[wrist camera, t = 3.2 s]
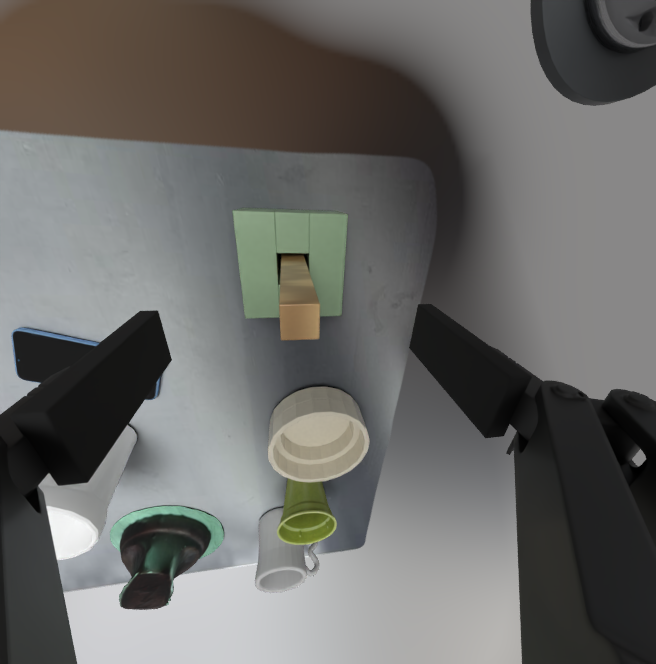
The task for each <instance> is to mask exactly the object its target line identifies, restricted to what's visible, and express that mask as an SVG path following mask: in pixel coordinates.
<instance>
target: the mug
mask: <svg viewBox="0 0 656 664" xmlns="http://www.w3.org/2000/svg"><path fill="white" fill-rule="evenodd" d="M283 508H284V507H283ZM283 508H277V509H273V510H271V511H269V512H267V513H266V514H265V515H264V516H263V517H262V518H261V519H260V522H259V556H258V565H257V571H256V578H255V586H256V587H257V589H259V590H260V591H263V592H269V593H275V592H276V593H277V592H284V591H287V590H291V589H293V588H296V587H298V586H299V585H301V584H302V583H303V582H304V581H305V579H306V577H307V575H308V576H314V575H315V574H316V573H317V571H318V569H319V561H318V558H317V557H316V555H315V554H314V553H313V550H314V549H315V548H316V547H317V542H315V543H313V544H312V545H311V546H310V547H309V550H308V555H309V557H310V558H311V559H312V560H313V562H314V564H315V566H314V568H313V569H312V570H309V569H308V567H307V566H306V565H305V557H304V545H294V544H289V543H286V542H284V541H282V540H281V539H280V538H279V537H278V535H277V528H278V525H279V524H280V521H281V517H282V515H283Z"/></svg>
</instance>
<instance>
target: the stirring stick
mask: <svg viewBox="0 0 656 664" xmlns="http://www.w3.org/2000/svg"><path fill="white" fill-rule="evenodd" d="M279 314H280V333H281V340H307V339H319V332H320V303H319V300H318V297H317V294H316V291H315V288H314V285H313V282H312V279H311V276H310V273H309V270H308V267H307V264H306V261H305V258H304V255H303V253H282V254H281V275H280V296H279Z"/></svg>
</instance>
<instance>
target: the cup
mask: <svg viewBox="0 0 656 664" xmlns="http://www.w3.org/2000/svg"><path fill="white" fill-rule="evenodd" d="M136 442H137V435H136V433H135V431H134V430H133V429H132V428H131V427H130V426H128V425H127V426H126V428H125V429H124V431H123V432H122V433H121V435H120V436H119V438H118V439H117V441H116V442H115V444H114V445H113V447H112V448H111V450H110V451H109V452H108V454H107V455H106V457H105V458H104V460H103V461H102V463H101V464H100V466H99V467H98V469H97V470H96V472H95V473H94V474H93V476H92V477H91V479H90V480H89V482H88V483H81V484H72V485H63V486H58V485H57V484H56V482H55V481H54V479H53V478H52V476H51V475H50V474H49V473H48V475H47V476H46V477H45V478H44V479H43V480H42V482H41V483H40V484H39V485H38V486H39V488H40V489H41V490H42V492H43V493H44V497H45V502H46V507H47V512H48V518H49V523H50V528H51V533H52V538H53V543H54V548H55V553H56V558H57V560H62V559H68V558H73V557H76V556H78V555H80V554H82V553H85V552H87V551H89V550H90V549H91V548H92V547H93V546H94V545H95V544H96V543H97V542H98V540H99V538H100V536H101V533H102V531H103V529H104V526H105V524H106V517H107V509H108V506H109V504H110V501H111V499H112V497H113V494H114V492H115V489H116V487H117V485H118V482H119V480H120V478H121V475H122V473H123V470H124V468H125V466H126V463H127V461H128V458H129V456H130V454H131V452H132V449H133V447H134V445H135V443H136Z"/></svg>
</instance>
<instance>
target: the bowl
mask: <svg viewBox="0 0 656 664" xmlns="http://www.w3.org/2000/svg"><path fill="white" fill-rule="evenodd" d="M369 441H370V440H369V436H368V432H367V429H366V426H365V423H364V420H363V418H362V415H361V412H360V409H359V406H358V404H357V403H356V402H355V400H354V399H353V398H352V397H351V396H350V395H348V394H347V393H345V392H343V391H341V390H339V389H335V388H331V387H311V388H310V387H309V388H306V389H303V390H300V391H296V392H294V393H293V394H291V395H289V396H288V397H286V398H285V399H283V400H282V401H281V402H280V403H279V404H278V406H277V407H276V408H275V409H274V411H273V413H272V416H271V419H270V426H269V441H268V457H269V461H270V463H271V465H272V466H273V468H274V470H276V471H277V472H278V473H280V474H281V475H282V476H284V477H286V478H289V479H292V480H295V481H300V482H309V483H310V482H320V481H327V480H330V479H334V478H337V477H340V476H341V475H343V474H345V473H347V472H349V471H351V470H352V469H353V468H354V467H355V466H356V465H358V464H359V463H360V462H361V461H362V459H363V458H364V456H365V454H366V453H367V451H368V446H369Z"/></svg>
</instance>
